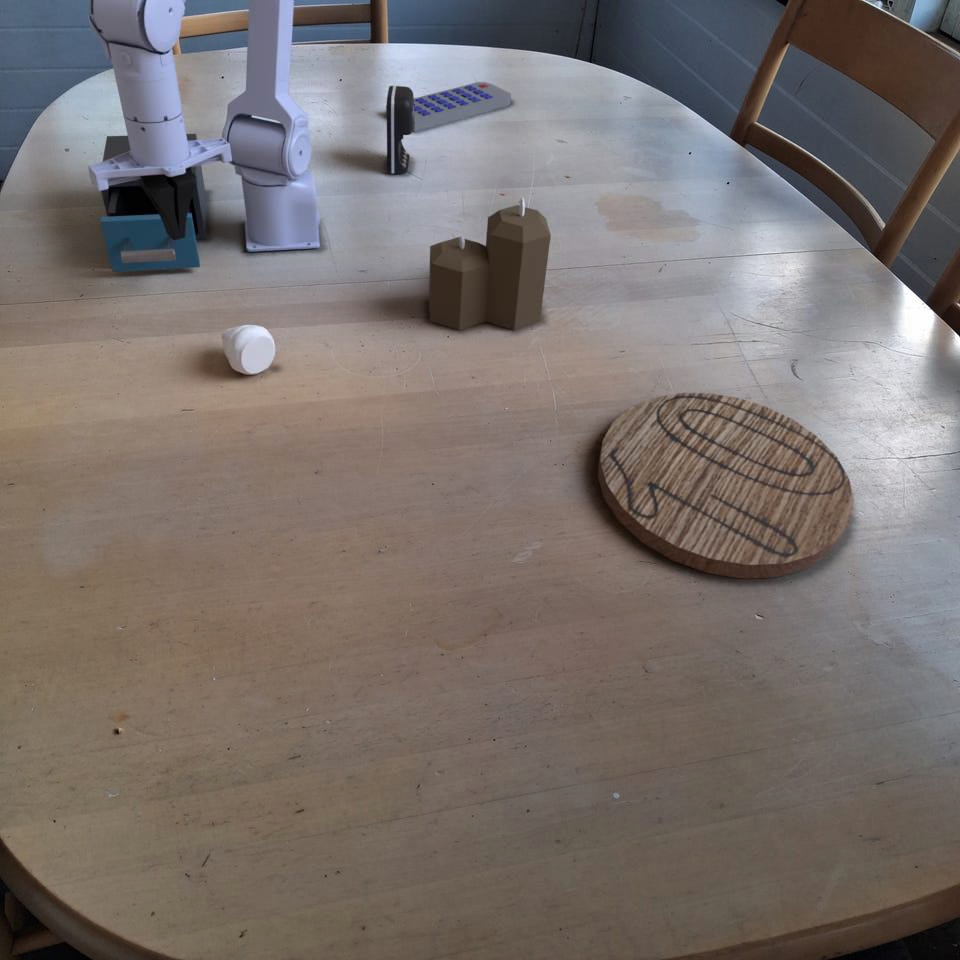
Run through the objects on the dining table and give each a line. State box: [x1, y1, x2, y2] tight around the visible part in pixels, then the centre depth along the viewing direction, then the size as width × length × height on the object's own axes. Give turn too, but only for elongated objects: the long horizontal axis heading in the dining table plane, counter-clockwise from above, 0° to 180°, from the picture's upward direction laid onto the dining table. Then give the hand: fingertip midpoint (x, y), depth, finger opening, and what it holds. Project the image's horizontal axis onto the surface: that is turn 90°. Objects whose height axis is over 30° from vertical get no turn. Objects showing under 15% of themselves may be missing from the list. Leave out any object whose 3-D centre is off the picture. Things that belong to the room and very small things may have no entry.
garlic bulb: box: [221, 324, 276, 375], centre depth 99 cm, size 6×6×5 cm
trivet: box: [597, 392, 855, 580], centre depth 91 cm, size 25×25×2 cm
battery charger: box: [386, 84, 415, 175], centre depth 136 cm, size 7×4×11 cm, turn 0°
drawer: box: [99, 186, 201, 273], centre depth 113 cm, size 17×10×7 cm, turn 12°
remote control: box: [385, 81, 512, 133], centre depth 156 cm, size 8×23×2 cm, turn 130°
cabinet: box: [100, 133, 207, 241], centre depth 121 cm, size 14×12×9 cm
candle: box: [428, 197, 552, 331], centre depth 107 cm, size 14×14×15 cm
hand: (176, 235), depth 100 cm, fingers closed
